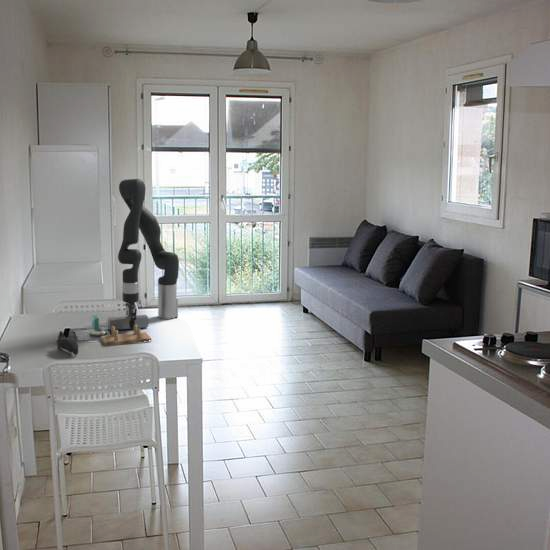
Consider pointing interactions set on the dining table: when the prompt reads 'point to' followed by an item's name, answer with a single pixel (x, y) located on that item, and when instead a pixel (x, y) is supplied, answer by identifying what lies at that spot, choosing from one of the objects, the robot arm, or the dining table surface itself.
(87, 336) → the gray base plate
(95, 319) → the teal handled round piece
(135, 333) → the peg rack
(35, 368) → the dining table surface
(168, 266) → the robot arm
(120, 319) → the bar
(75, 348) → the figurine
